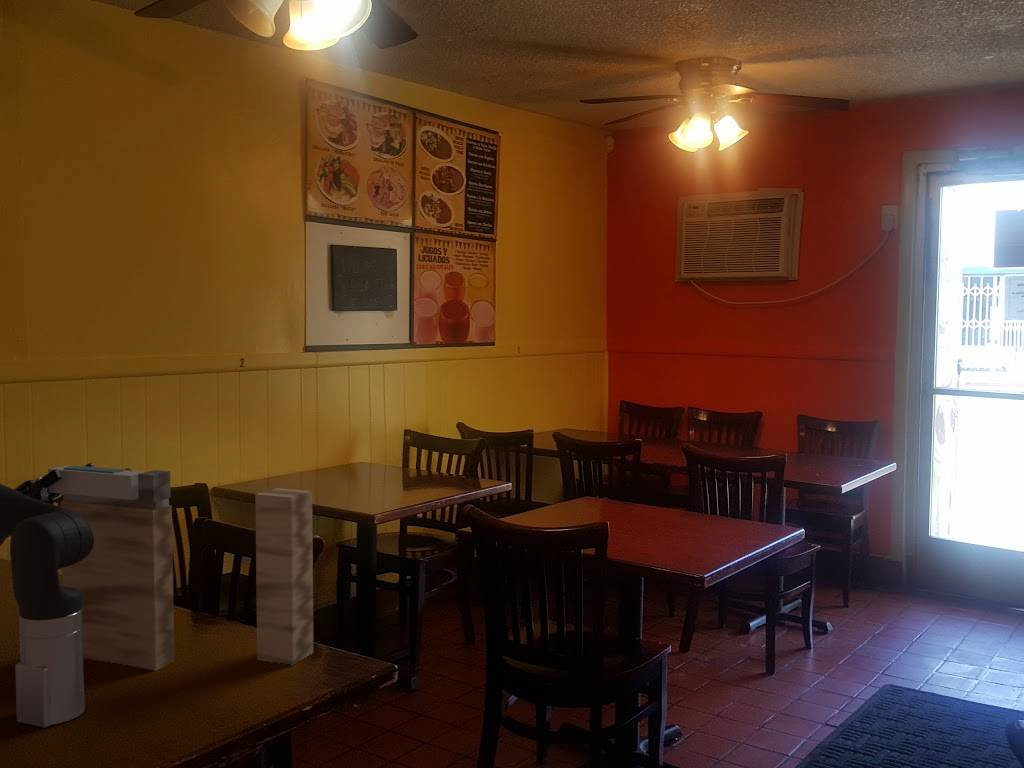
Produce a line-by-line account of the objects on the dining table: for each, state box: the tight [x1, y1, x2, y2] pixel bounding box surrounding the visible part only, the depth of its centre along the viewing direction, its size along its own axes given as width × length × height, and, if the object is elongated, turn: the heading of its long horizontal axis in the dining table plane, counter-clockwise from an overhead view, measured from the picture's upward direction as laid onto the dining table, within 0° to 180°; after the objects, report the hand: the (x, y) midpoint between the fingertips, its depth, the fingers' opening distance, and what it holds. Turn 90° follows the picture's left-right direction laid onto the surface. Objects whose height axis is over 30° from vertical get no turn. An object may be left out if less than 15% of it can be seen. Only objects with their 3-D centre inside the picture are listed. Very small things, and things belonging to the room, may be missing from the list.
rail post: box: [59, 469, 175, 671], centre depth 178 cm, size 5×22×36 cm, turn 70°
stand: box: [254, 487, 314, 666], centre depth 180 cm, size 7×8×32 cm
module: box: [47, 465, 144, 500], centre depth 179 cm, size 20×4×5 cm, turn 69°
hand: (76, 470), depth 180 cm, fingers open, 8 cm apart
